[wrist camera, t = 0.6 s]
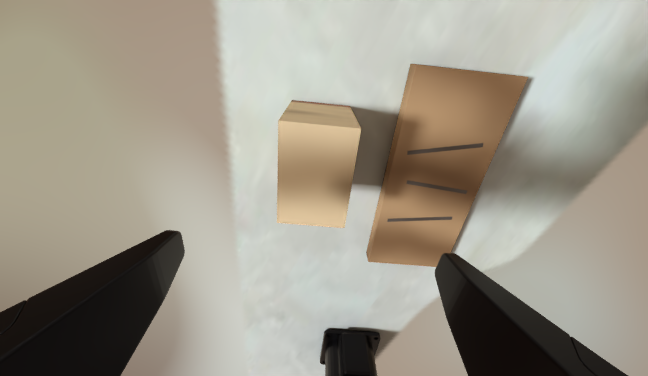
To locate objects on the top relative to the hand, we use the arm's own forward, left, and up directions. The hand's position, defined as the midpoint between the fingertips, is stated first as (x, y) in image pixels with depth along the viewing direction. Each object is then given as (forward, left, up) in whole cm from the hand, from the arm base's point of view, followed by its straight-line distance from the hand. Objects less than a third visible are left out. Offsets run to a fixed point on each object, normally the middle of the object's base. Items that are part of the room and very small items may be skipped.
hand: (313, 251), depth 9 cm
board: (-2, -9, -11) cm, 15 cm away
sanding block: (0, 0, -12) cm, 12 cm away
